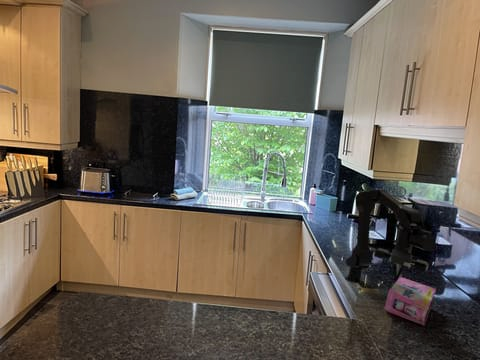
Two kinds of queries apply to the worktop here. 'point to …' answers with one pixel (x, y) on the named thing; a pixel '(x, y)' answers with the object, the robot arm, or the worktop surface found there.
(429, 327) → the worktop surface
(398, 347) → the worktop surface
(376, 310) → the worktop surface
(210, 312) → the worktop surface
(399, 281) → the gum box
